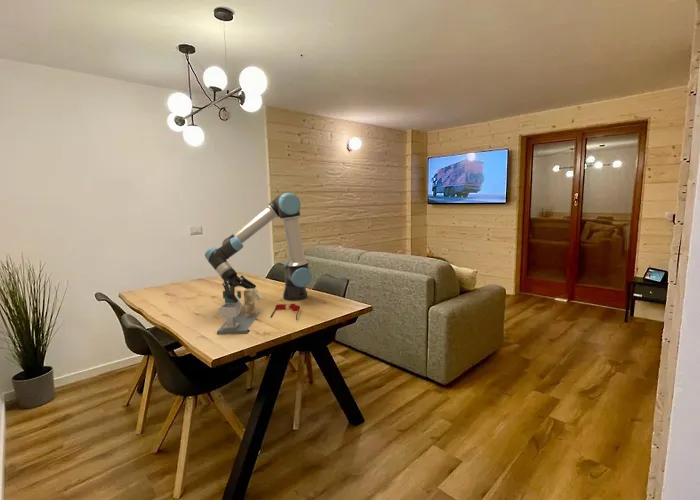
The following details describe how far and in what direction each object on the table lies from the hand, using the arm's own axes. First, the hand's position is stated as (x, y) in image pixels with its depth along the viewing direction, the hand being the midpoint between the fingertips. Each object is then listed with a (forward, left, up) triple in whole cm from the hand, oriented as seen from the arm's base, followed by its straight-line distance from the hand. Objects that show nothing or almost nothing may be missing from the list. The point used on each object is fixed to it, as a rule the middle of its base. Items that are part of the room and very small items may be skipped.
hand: (251, 302), depth 185 cm
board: (+4, +7, -9) cm, 12 cm away
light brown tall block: (+1, -1, -7) cm, 7 cm away
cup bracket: (+6, +15, -7) cm, 17 cm away
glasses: (-17, -3, -9) cm, 19 cm away
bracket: (+18, -26, -9) cm, 33 cm away
